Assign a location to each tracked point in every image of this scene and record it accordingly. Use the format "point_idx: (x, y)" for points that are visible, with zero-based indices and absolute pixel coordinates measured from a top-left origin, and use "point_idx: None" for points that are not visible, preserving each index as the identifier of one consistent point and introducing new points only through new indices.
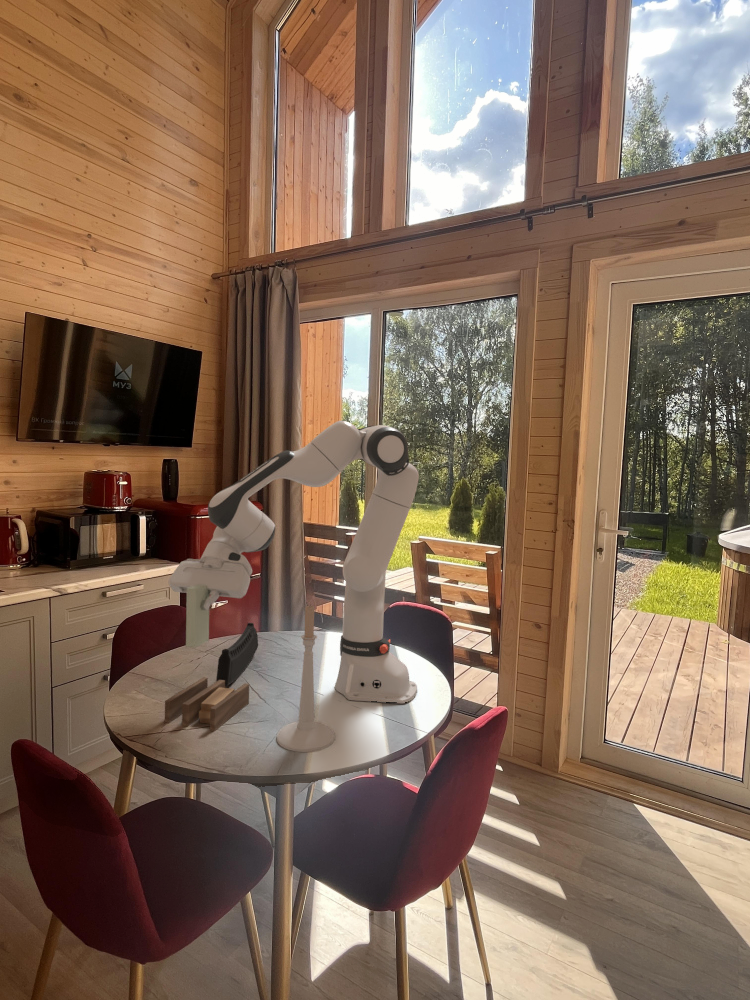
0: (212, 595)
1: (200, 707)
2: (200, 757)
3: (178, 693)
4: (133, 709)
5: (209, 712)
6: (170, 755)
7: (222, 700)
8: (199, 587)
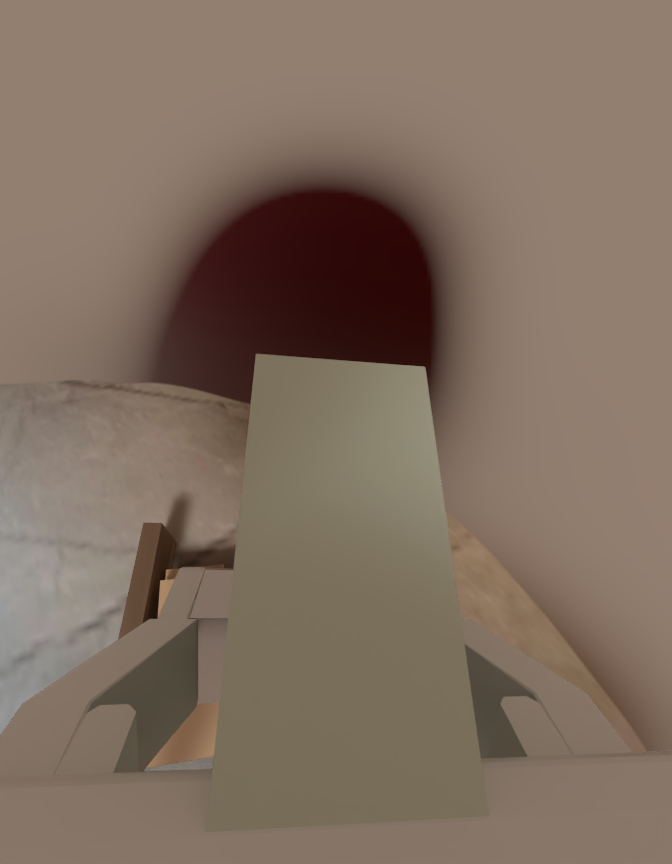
0: (72, 688)
1: None
2: (144, 418)
3: None
4: (458, 590)
5: None
6: (215, 410)
7: (143, 597)
8: (264, 491)
